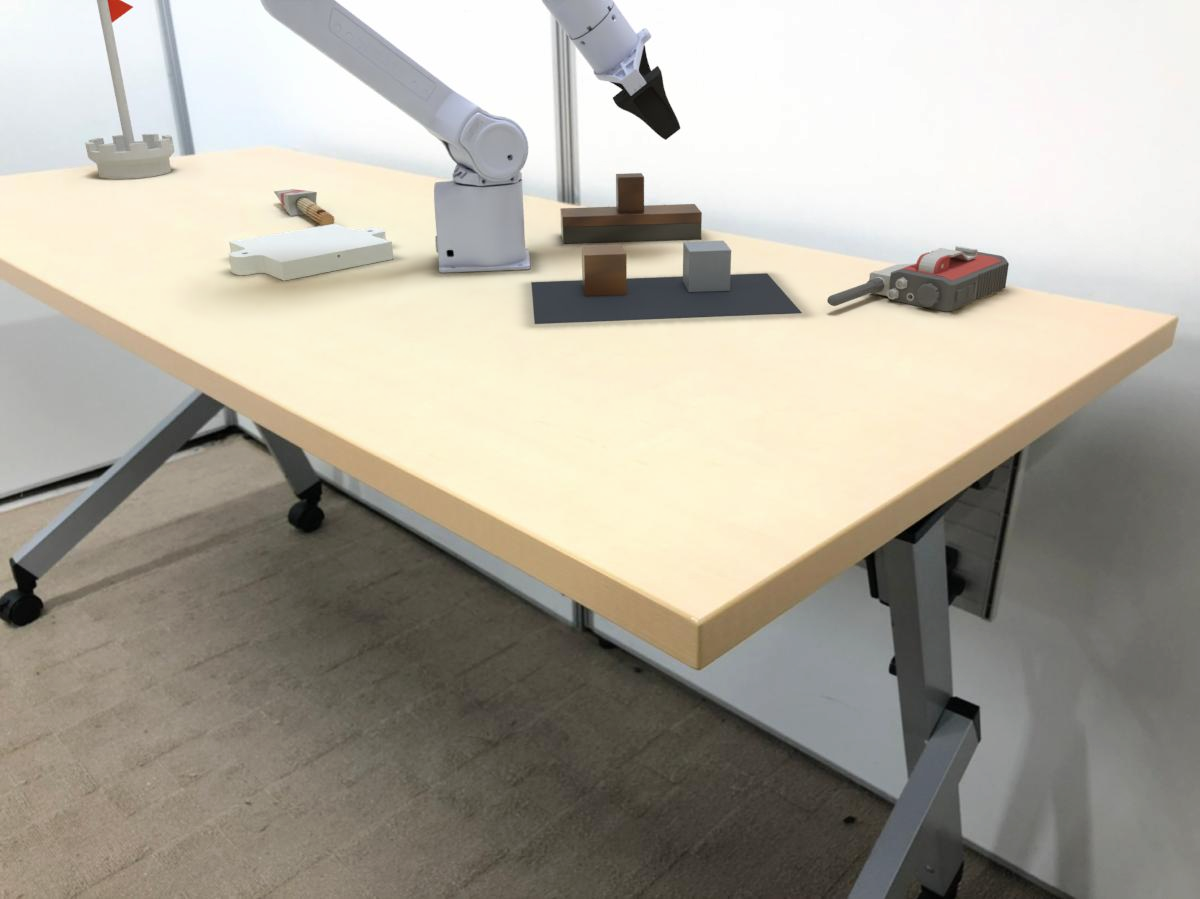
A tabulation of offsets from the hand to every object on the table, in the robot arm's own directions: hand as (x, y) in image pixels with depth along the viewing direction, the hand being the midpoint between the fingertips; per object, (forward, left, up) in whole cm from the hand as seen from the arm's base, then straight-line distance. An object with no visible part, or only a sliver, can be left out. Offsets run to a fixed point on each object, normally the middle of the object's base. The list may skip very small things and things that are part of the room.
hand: (665, 121), depth 116 cm
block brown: (-9, -20, -13) cm, 25 cm away
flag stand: (-79, +62, -14) cm, 101 cm away
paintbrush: (-45, +23, -14) cm, 52 cm away
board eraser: (-4, +3, -13) cm, 14 cm away
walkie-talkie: (+20, -27, -14) cm, 36 cm away
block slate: (+1, -20, -13) cm, 24 cm away
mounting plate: (-40, -2, -14) cm, 42 cm away
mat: (-4, -23, -13) cm, 27 cm away
